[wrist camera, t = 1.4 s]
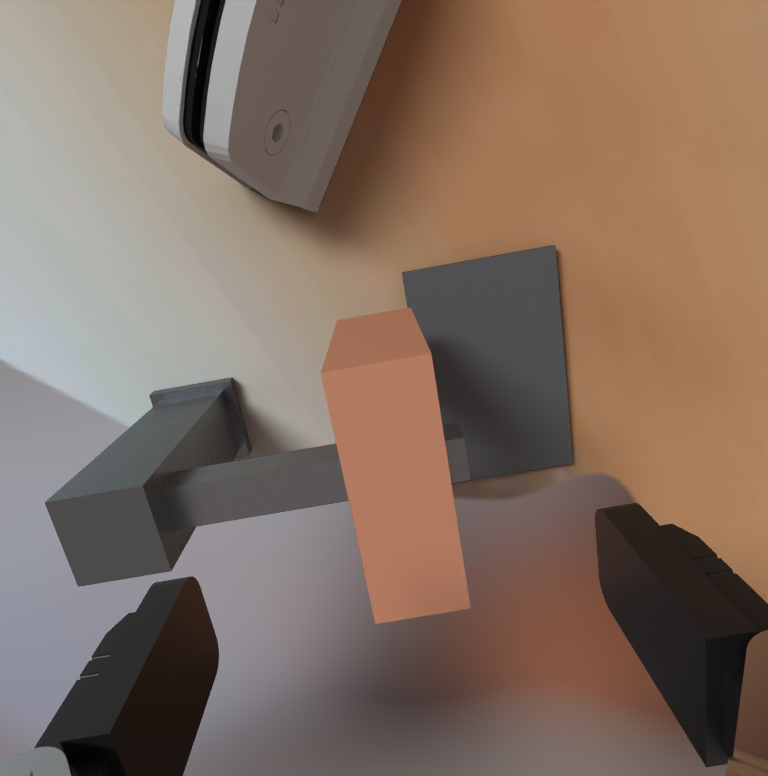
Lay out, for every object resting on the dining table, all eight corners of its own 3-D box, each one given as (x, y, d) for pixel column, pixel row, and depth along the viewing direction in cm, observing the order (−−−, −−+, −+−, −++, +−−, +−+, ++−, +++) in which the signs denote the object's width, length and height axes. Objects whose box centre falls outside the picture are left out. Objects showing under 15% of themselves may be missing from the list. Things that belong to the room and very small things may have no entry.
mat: (552, 245, 33) (555, 245, 32) (570, 459, 37) (573, 463, 36) (402, 272, 33) (402, 273, 33) (436, 482, 37) (437, 486, 37)
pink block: (410, 307, 30) (431, 353, 20) (439, 489, 33) (470, 608, 23) (337, 320, 30) (320, 372, 20) (373, 500, 33) (375, 623, 23)
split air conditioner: (314, 219, 32) (215, 184, 23) (247, 187, 33) (124, 140, 24) (441, -99, 28) (384, -307, 18) (360, -127, 29) (266, -338, 19)
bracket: (429, 342, 34) (465, 418, 22) (441, 417, 36) (481, 529, 23) (154, 391, 35) (27, 493, 22) (176, 463, 36) (70, 598, 23)
